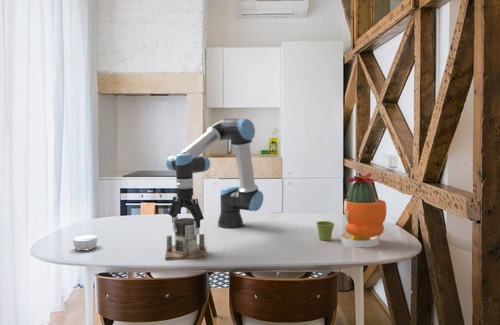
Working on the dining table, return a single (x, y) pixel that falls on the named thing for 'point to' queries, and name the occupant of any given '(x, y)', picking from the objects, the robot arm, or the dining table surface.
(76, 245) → the ramekin
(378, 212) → the potted cactus
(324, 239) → the plant pot
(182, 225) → the coffee can
